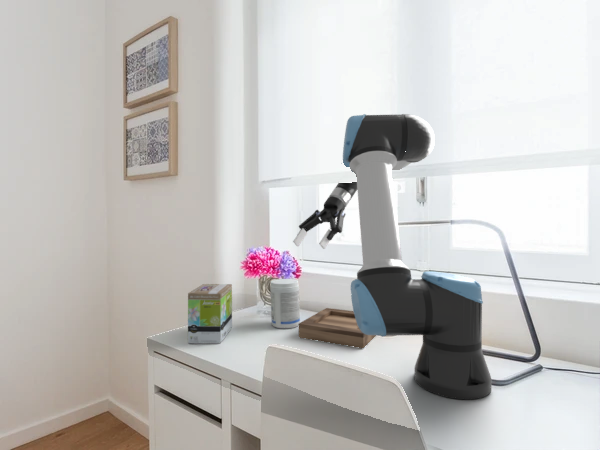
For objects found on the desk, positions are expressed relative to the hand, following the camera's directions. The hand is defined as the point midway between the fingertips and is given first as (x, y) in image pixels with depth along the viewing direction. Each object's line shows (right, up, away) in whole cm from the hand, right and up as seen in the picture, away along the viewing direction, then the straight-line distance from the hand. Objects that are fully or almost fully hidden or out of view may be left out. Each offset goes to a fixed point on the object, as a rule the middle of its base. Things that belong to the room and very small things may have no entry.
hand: (308, 245), depth 125 cm
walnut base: (+10, -26, -15) cm, 32 cm away
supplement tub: (-8, -26, -7) cm, 28 cm away
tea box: (-30, -27, -16) cm, 43 cm away
